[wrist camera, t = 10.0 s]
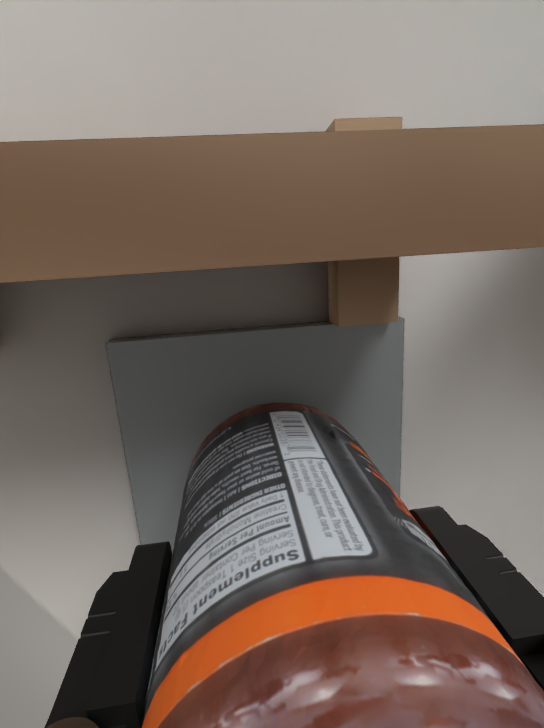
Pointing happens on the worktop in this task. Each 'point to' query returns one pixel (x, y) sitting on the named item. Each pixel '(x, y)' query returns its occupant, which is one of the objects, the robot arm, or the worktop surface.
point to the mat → (248, 397)
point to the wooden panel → (272, 204)
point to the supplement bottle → (318, 597)
